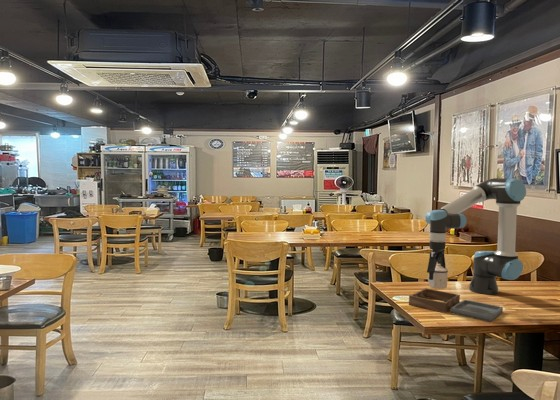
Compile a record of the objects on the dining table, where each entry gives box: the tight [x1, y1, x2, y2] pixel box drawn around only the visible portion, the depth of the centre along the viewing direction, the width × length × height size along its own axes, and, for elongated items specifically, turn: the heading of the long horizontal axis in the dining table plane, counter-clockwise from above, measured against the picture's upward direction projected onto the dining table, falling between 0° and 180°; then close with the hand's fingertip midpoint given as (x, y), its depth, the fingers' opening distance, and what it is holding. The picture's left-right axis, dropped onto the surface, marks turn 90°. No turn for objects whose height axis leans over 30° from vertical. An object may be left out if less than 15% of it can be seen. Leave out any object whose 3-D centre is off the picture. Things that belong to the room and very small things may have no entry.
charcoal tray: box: [450, 299, 504, 323], centre depth 205 cm, size 20×18×2 cm
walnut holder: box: [408, 287, 461, 314], centre depth 217 cm, size 21×18×4 cm
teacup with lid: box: [427, 263, 449, 290], centre depth 216 cm, size 12×9×12 cm
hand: (436, 283), depth 216 cm, fingers closed on teacup with lid, 11 cm apart
